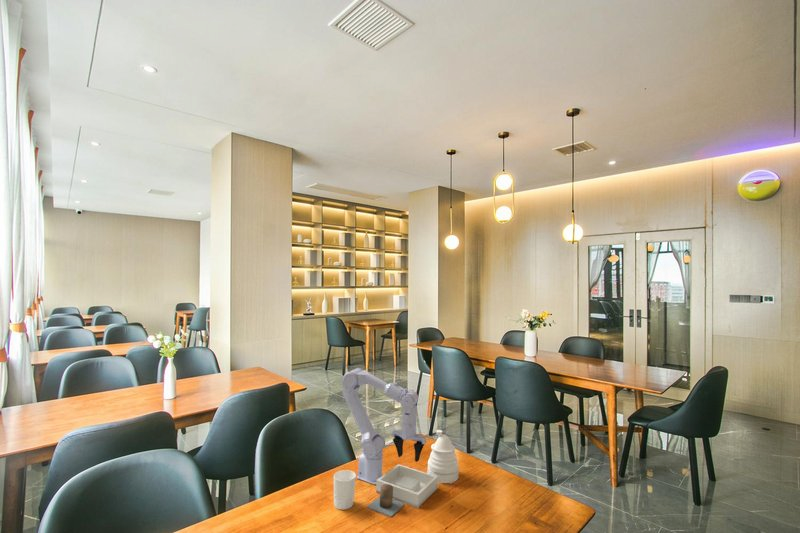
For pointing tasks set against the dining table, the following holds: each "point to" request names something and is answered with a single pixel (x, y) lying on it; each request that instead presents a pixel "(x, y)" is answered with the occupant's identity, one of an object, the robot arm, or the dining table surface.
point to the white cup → (344, 489)
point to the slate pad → (388, 512)
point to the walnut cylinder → (386, 496)
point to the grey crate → (409, 485)
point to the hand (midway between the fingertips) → (408, 458)
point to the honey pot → (443, 460)
